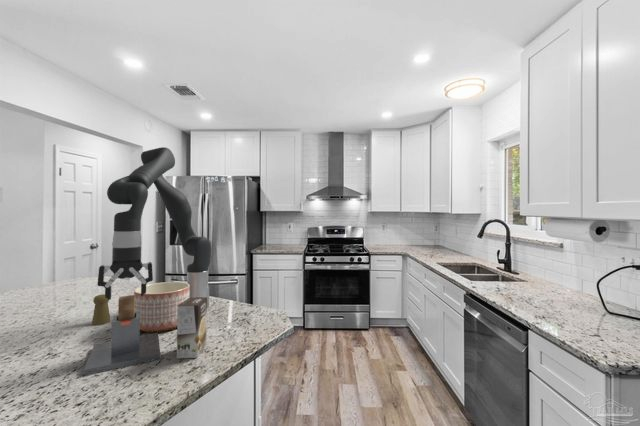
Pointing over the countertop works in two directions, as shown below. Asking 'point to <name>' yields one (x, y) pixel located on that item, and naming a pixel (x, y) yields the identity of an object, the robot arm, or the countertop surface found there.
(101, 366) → the stand base
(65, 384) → the countertop surface
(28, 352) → the countertop surface
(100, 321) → the cork
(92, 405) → the countertop surface
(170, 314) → the planter
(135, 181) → the robot arm
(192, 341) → the coffee box
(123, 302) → the stand post
